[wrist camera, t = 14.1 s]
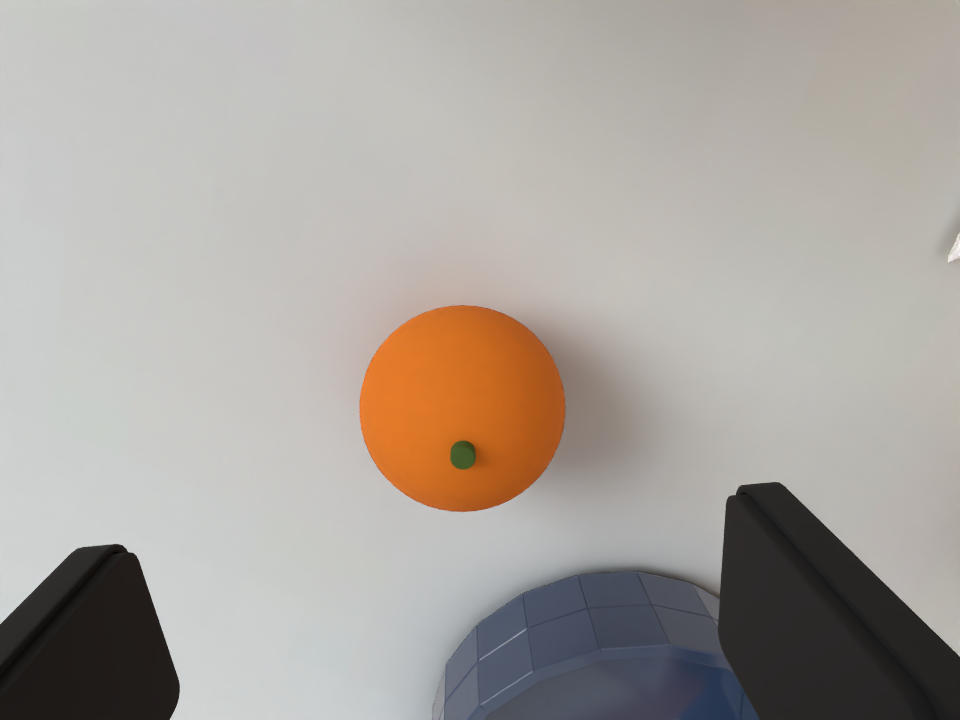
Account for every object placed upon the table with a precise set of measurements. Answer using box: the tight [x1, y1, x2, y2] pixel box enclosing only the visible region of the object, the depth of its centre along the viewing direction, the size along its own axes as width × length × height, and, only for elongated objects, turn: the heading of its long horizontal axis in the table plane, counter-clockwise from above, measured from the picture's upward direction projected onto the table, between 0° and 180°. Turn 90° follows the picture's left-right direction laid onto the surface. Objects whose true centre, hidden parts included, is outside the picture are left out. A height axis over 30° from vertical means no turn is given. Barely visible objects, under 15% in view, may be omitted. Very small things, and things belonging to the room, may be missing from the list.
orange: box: [360, 305, 565, 512], centre depth 19 cm, size 7×7×7 cm
